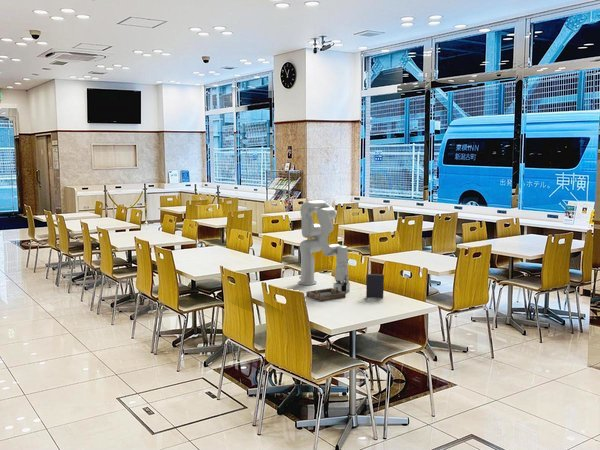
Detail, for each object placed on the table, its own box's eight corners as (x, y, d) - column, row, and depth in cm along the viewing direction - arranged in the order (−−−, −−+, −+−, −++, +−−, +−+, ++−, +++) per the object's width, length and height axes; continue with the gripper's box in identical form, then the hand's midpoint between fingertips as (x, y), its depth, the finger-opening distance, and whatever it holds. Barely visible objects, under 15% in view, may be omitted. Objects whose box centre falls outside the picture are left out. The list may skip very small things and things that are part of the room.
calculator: (383, 296, 381) (383, 274, 379) (383, 298, 377) (383, 275, 375) (366, 296, 382) (366, 273, 380) (366, 297, 378) (366, 275, 376)
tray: (306, 296, 381) (306, 290, 380) (331, 292, 391) (331, 286, 391) (320, 301, 367) (320, 295, 367) (345, 297, 378) (345, 291, 378)
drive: (333, 292, 393) (333, 283, 392) (344, 290, 398) (345, 281, 398) (338, 293, 389) (338, 284, 388) (349, 291, 394) (349, 282, 393)
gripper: (330, 262, 396) (329, 288, 398) (345, 266, 382) (344, 293, 384) (338, 261, 400) (338, 287, 402) (354, 265, 386) (353, 292, 388)
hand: (341, 290), depth 393 cm, fingers closed on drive, 5 cm apart
